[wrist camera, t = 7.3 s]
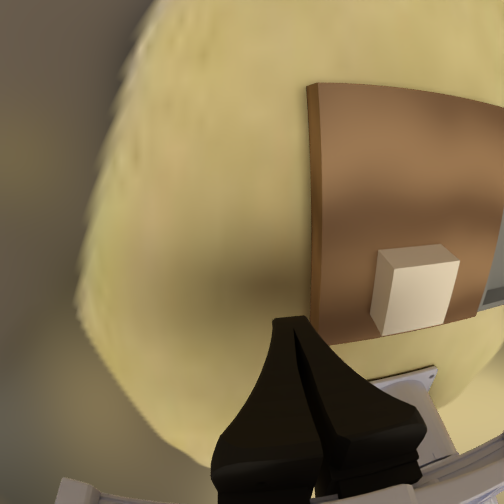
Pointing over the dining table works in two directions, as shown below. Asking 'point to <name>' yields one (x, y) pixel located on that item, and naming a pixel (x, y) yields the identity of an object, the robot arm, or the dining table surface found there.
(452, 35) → the dining table surface
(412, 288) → the tile
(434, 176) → the plate
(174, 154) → the dining table surface
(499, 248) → the tray
